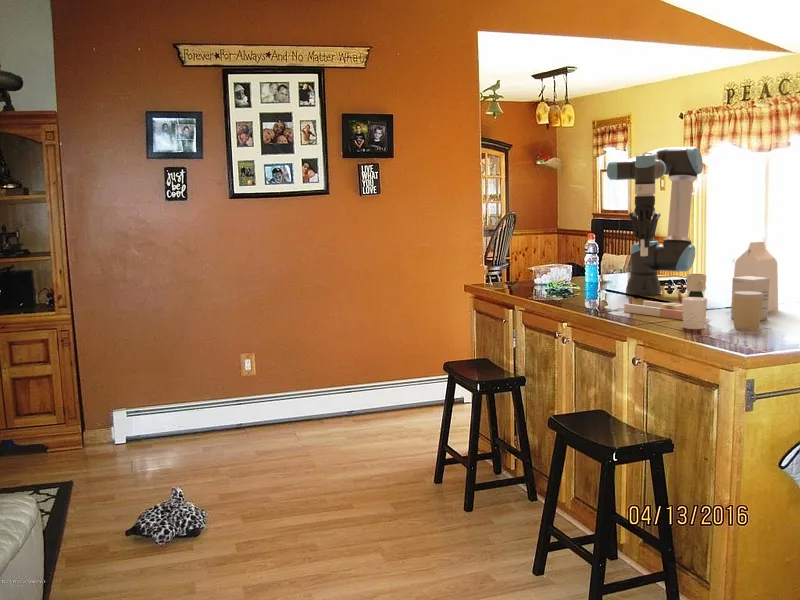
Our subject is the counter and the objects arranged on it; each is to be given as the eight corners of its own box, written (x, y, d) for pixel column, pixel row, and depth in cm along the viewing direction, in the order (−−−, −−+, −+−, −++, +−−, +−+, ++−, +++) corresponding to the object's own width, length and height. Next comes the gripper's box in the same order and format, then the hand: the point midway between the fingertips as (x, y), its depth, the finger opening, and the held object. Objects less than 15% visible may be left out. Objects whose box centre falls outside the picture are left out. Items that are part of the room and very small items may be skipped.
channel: (624, 311, 298) (624, 303, 298) (645, 308, 306) (645, 300, 305) (683, 320, 278) (683, 311, 277) (704, 315, 285) (705, 307, 285)
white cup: (677, 326, 266) (678, 297, 265) (699, 325, 267) (700, 296, 265) (687, 330, 258) (688, 300, 257) (710, 329, 259) (711, 299, 258)
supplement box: (729, 318, 279) (731, 277, 277) (746, 316, 283) (747, 275, 281) (752, 322, 271) (753, 279, 269) (768, 319, 275) (770, 277, 273)
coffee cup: (760, 326, 263) (761, 291, 261) (763, 331, 254) (765, 294, 252) (730, 325, 266) (731, 290, 264) (732, 330, 257) (734, 294, 255)
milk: (756, 312, 289) (759, 243, 286) (730, 309, 299) (733, 241, 296) (778, 310, 295) (781, 241, 291) (752, 306, 305) (754, 240, 301)
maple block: (660, 316, 288) (660, 304, 288) (673, 314, 292) (673, 302, 291) (675, 318, 282) (675, 306, 282) (688, 316, 286) (688, 304, 285)
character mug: (710, 309, 300) (712, 275, 298) (693, 309, 300) (694, 276, 298) (697, 304, 311) (698, 272, 309) (680, 305, 310) (681, 273, 308)
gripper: (624, 195, 302) (624, 255, 306) (653, 195, 292) (652, 257, 296) (636, 194, 307) (636, 253, 311) (665, 194, 296) (664, 256, 300)
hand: (644, 255), depth 303 cm, fingers closed
